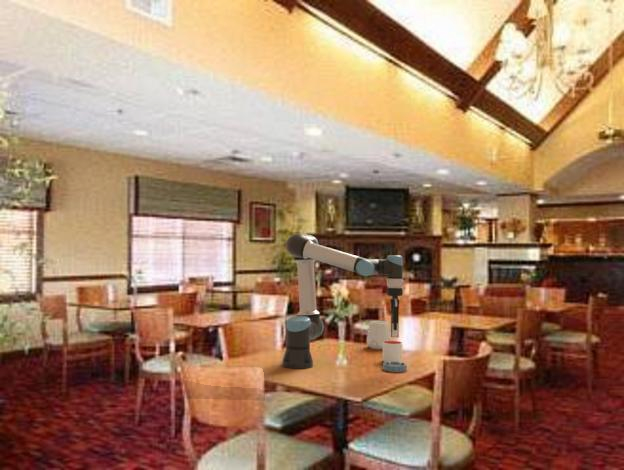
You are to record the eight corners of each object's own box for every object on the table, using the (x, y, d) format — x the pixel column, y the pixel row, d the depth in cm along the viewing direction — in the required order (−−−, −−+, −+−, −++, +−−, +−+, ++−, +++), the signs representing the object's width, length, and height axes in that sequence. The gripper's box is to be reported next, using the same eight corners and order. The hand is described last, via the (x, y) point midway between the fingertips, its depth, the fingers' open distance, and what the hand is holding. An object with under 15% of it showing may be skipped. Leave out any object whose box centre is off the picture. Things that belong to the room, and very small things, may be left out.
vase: (394, 347, 344) (395, 321, 345) (384, 350, 332) (385, 324, 333) (373, 344, 352) (373, 319, 352) (362, 348, 340) (362, 321, 340)
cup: (401, 364, 295) (401, 344, 295) (381, 363, 297) (381, 343, 297) (402, 360, 305) (402, 341, 305) (383, 359, 307) (383, 340, 307)
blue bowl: (384, 371, 277) (384, 364, 277) (382, 367, 288) (382, 359, 288) (407, 372, 276) (408, 364, 276) (404, 367, 287) (404, 360, 287)
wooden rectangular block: (391, 337, 281) (391, 314, 281) (390, 336, 283) (390, 313, 284) (398, 337, 281) (398, 314, 281) (397, 336, 283) (397, 313, 283)
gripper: (404, 288, 275) (404, 338, 274) (400, 286, 290) (400, 334, 290) (388, 288, 275) (388, 338, 274) (385, 286, 290) (385, 333, 290)
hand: (394, 336), depth 282 cm, fingers closed on wooden rectangular block, 2 cm apart
